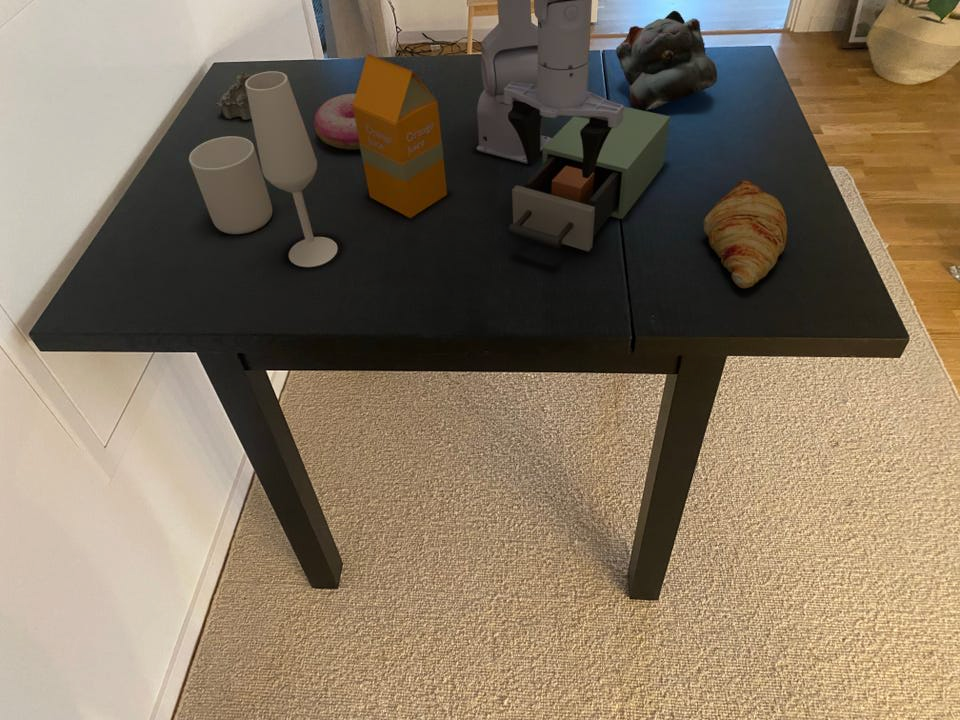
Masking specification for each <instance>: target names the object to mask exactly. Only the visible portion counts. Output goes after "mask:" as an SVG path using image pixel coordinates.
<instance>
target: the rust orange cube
mask: <svg viewBox="0 0 960 720" xmlns="http://www.w3.org/2000/svg"><path fill="white" fill-rule="evenodd" d="M593 187H594V173H592V175H591V176H590V177H589V178H584V177H583V175H582V169H578V168H574V167H570V166H565V167H564V168H563V169H562V170H561V171H560V173H559V174H558V175H557V176H556V177H555V178H554V179H553V180H552V195H554V196H557V197H561V198H564V199H568V200H572V201H575V202H579V203H583V204H586V205H589V200H590V199H591V198H592V196H593Z"/></svg>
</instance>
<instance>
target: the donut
mask: <svg viewBox="0 0 960 720" xmlns="http://www.w3.org/2000/svg"><path fill="white" fill-rule="evenodd" d="M355 96H356V92H355V93H346V94H345V93H344V94H340V95H337V96H334V97H333V98H332V97H331V98H330V99H328V100H327V101H325V102H324V103H323V104H322V105H321V106H320V107H319V108H318V109H317V110H316V113H315V115H314V119H313V126H314V130H315V134H316V135H317V136H318V137H319V139H320V140H321V141H322V142H323V143H325V144H326V145H328V146H331V147H333V148H337V149H339V150H348V151H349V150H350V151H355V150H356V151H358V150H360V142H359V137H358V132H357V127H356V122H355V116H354V111H353V107H352V104H353V103H354V99H355Z"/></svg>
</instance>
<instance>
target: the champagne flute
mask: <svg viewBox="0 0 960 720" xmlns="http://www.w3.org/2000/svg"><path fill="white" fill-rule="evenodd" d="M245 86H246V91H247V96H248V101H249V107H250V112H251V117H252V119H251V122H252V126H253V132H254V136H255V141H256V147H257V151H258V156H259V161H260V162H259V163H260V168H261V172H262V175H263V177H264V179H265V180H267V181H268V182H269V183H270V184H271V185H273V187H275V188H277V189H280V190H283V192H284V191H285V192H286V193H291V194H292V198H293V201H294V204H295V207H296V211H297V215H298V218H299V219H298V220H299V222H300V226H301V230H302V233H303V236H304V239H302V240H300V241H297V242H296V243H295V244H294V245H293V246H292V247H291V248H290V250H289V251H288V259H289V261H290V262H291V263H292V264H294V265H295V266H298V267H301V268H302V267H303V268H312V267H313V268H314V267H319V266H322V265H324V264H326V263H328V262H330V261H331V260H332V259H333V258H334V257H335V256H336V255H337V253H338V249H339V248H338V245H337V243H336V242H335V241H334V240H333V239H331V238H329V237H325V236H314V233H313V229H312V226H311V221H310V218H309V214H308V211H307V207H306V202H305V199H304V195H303V192H302V191H303V190H304V189H305V188H306V187H307V186H308V185H309V184H310V183H311V182H312V180H313V179H314V177H315V175H316V172H317V168H318V160H317V157H316V155H315V151H314V149H313V146H312V143H311V140H310V137H309V135H308V131H307V129H306V127H305V123H304V120H303V118H302V114H301V112H300V109H299V106H298V103H297V101H296V98H295V95H294V92H293V89H292V86H291V83H290V81H289V78H288V75H287V74H286V73H284V72H281V71H275V70H274V71H273V70H272V71H271V70H270V71H262V72H259V73H256V74H254V75H252V77H250V78H249V79H247V81H246V82H245Z"/></svg>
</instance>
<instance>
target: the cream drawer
mask: <svg viewBox="0 0 960 720" xmlns="http://www.w3.org/2000/svg"><path fill="white" fill-rule="evenodd" d="M565 166H570V167H574V168H578V169H582V166H583V162H580V161H576V160H572V159H568V158H564V157H560V156H556V155H551V156H550V157H549V158H548V159H547V160H546V162H545V163H544V164H543V163H542V165H541V166H540V167H539V168H538V169H536V171H534V173H533V174H532V175H531V176H530V177H529V178H528V179H527V180H526V181H525V182H524V186H521V185H514V187H513V188H512V190H511V197H512V198H511V199H512V223H510V224H509V226H508V229H507V231H508V234H509V235H512V236H515V237H519V238H522V239H525V240H528V241H531V242H535V243H538V244H541V245H543V246H549V247H551V248H554V249H560V248H561V246H562V245H566V246H568V247H571V248H575V249H579V250H581V251H585V252H590V251H591V249H592V248H593V242H594V238H595V236H596V235H597V233H598V232H599V231H600V230H601V229H602V227H603V226H604V225H605V223H606V222H607V221H608V219H610V217H612V216H611V214H612V213H613V212H614V211H615V209H616V208H617V207H618V205H619V200H620V189H621V179H622V172H619V171H615V170H611V169H607V168H603V167H599V166H595V171H594V172H593V173H594V187H593V196H592V198H591V199H590V200H589V205H586V204H583V203H579V202H575V201H572V200H568V199H564V198H561V197H557V196H554V195H552V180H553V179H554V178H555V177H556V176H557V175H558V174H559V173H560V171H561V170H562V169H563V168H564V167H565Z"/></svg>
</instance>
